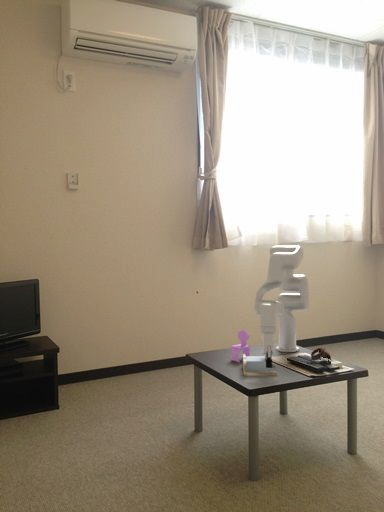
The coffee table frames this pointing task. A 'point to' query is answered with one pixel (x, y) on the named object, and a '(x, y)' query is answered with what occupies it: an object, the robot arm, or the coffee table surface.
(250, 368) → the carton
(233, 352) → the toy chair
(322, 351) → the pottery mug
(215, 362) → the coffee table surface
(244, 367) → the wooden rack
